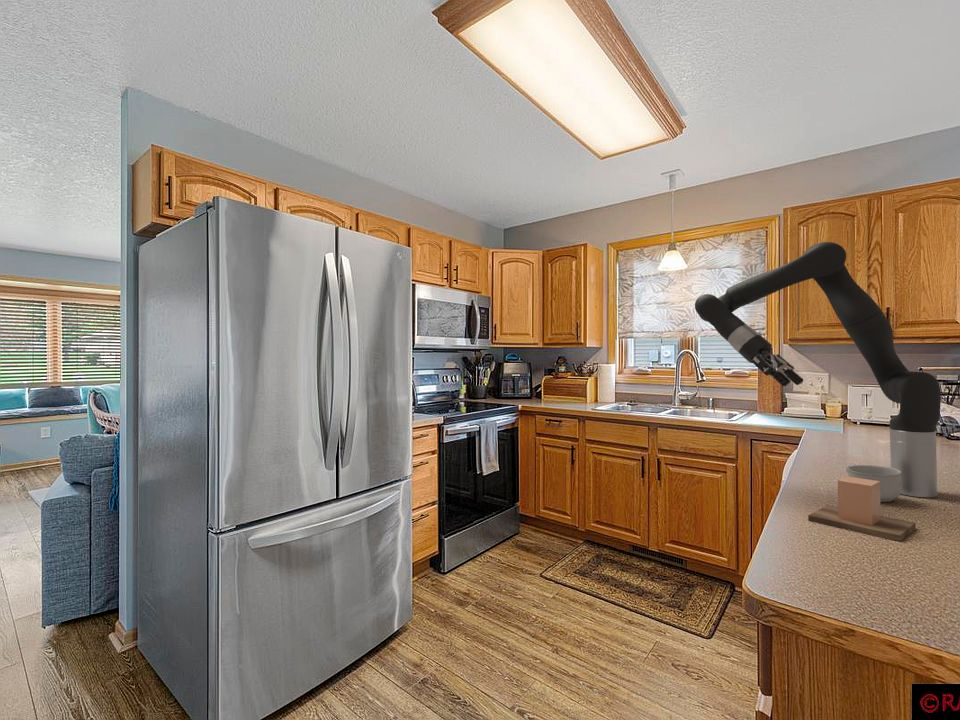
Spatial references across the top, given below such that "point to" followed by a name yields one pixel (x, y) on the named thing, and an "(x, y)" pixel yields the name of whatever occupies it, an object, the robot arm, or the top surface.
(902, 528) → the board
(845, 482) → the peach colored cube
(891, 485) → the teacup
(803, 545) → the top surface
